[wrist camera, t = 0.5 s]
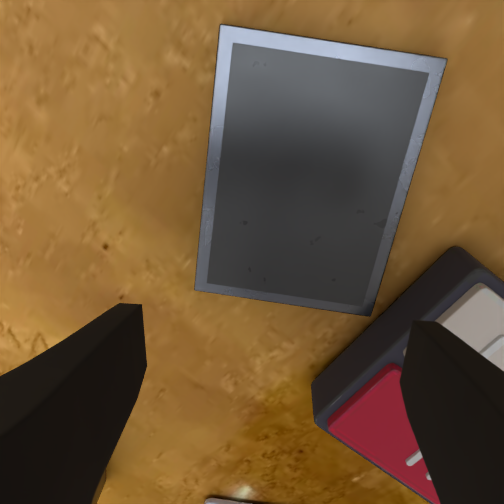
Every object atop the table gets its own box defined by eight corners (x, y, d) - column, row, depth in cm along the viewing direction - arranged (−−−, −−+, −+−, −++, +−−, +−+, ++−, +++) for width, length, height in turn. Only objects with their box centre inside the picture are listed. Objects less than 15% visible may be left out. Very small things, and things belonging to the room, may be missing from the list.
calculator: (488, 271, 17) (720, 463, 20) (450, 237, 21) (646, 399, 24) (310, 434, 21) (525, 579, 23) (306, 378, 25) (490, 507, 27)
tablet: (367, 307, 23) (371, 318, 22) (197, 282, 22) (193, 291, 22) (440, 58, 18) (450, 58, 17) (222, 25, 18) (218, 22, 17)
